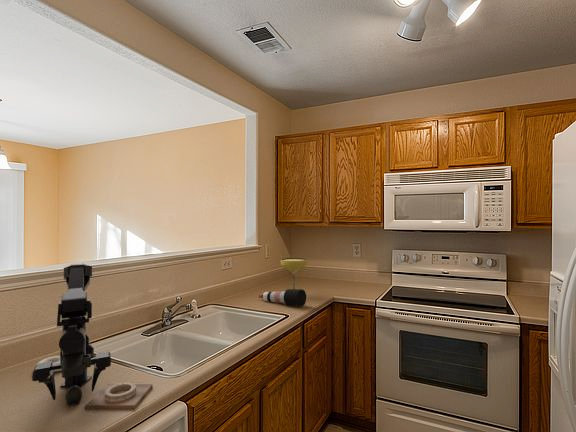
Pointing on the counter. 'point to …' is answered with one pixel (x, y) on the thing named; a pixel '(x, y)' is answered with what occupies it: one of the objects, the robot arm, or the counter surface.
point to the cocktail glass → (293, 265)
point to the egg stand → (119, 396)
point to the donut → (54, 360)
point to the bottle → (286, 297)
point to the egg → (73, 395)
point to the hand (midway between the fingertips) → (73, 394)
